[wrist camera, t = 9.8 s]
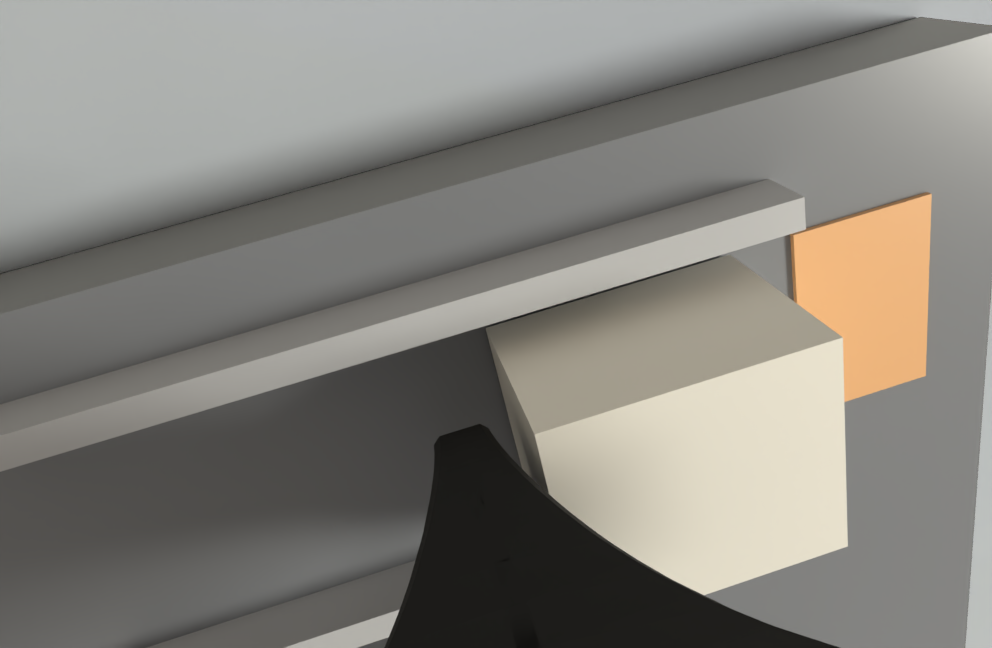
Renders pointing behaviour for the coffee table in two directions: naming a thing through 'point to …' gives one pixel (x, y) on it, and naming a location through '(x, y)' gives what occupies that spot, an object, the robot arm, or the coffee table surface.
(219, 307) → the switch board
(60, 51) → the coffee table surface
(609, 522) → the tab
